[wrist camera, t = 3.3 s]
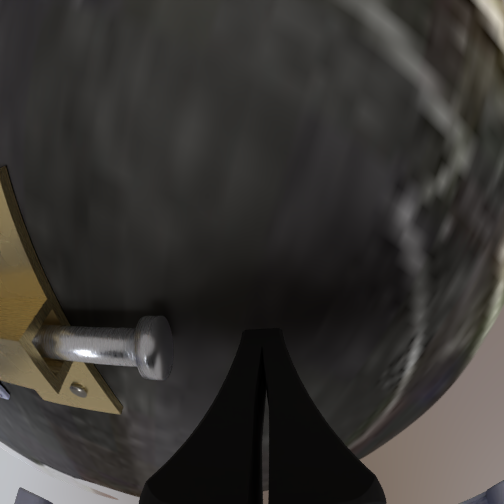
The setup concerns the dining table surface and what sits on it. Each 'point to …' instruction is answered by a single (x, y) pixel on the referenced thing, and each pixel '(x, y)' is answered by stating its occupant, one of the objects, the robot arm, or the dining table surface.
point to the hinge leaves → (37, 321)
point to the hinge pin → (112, 345)
